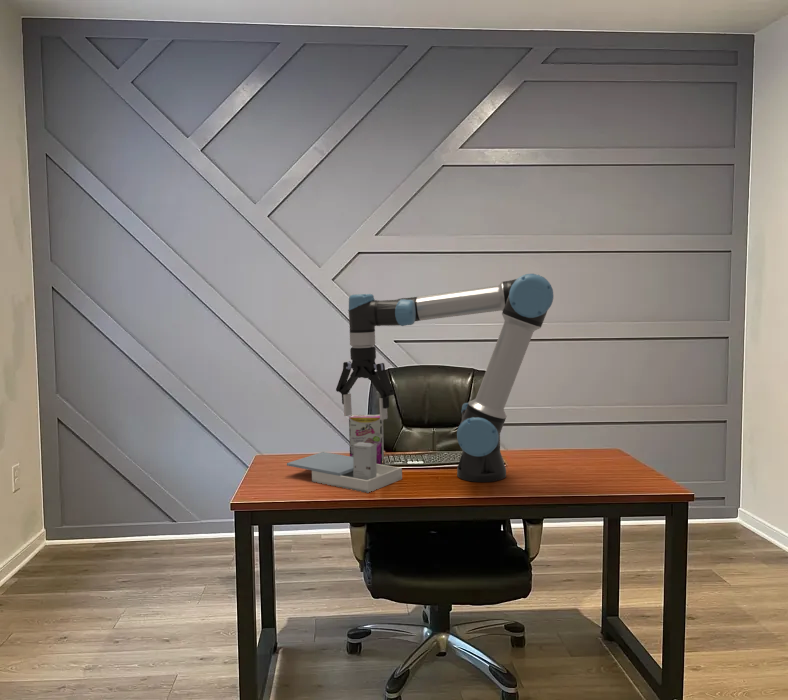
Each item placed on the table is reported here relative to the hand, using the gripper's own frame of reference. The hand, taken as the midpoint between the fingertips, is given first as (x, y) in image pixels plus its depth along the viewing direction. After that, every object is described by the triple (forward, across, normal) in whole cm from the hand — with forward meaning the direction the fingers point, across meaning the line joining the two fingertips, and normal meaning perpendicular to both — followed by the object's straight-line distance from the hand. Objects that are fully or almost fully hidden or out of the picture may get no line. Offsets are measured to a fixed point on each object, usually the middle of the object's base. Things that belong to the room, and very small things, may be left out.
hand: (365, 417), depth 207 cm
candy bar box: (+21, +16, -20) cm, 33 cm away
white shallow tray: (+21, +6, -2) cm, 22 cm away
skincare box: (+20, 0, +1) cm, 20 cm away
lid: (+17, +17, -2) cm, 24 cm away
